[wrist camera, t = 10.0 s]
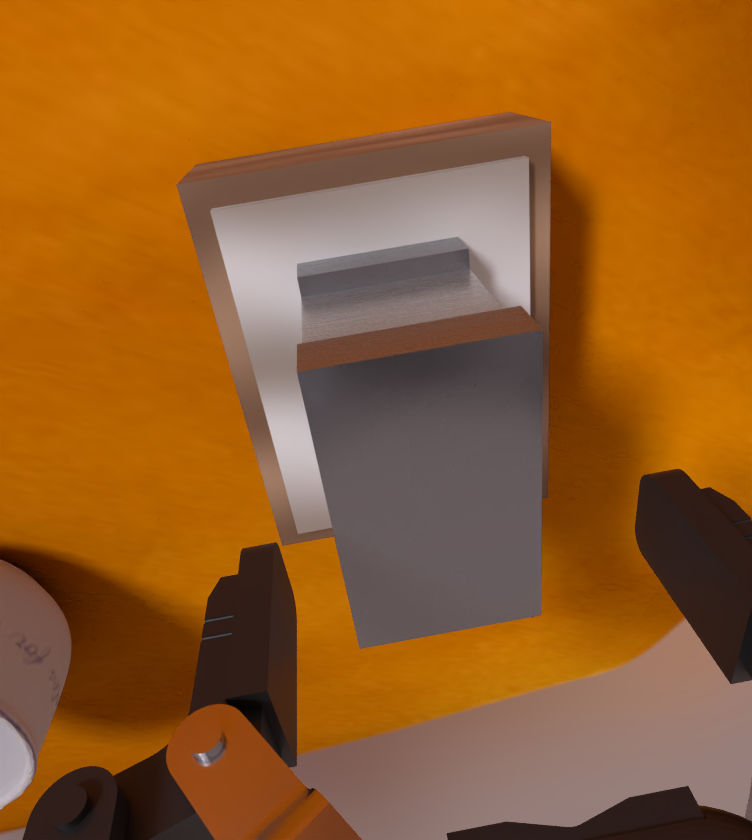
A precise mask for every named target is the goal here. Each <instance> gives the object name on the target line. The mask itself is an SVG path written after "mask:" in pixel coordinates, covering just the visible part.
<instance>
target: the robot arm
mask: <svg viewBox="0 0 752 840" xmlns="http://www.w3.org/2000/svg"><path fill="white" fill-rule="evenodd" d="M635 534H636V540H637V543H638V546H639V549H640V551H641V553H642V555H643V556H644V558H645V559H646V561H647V562H648V564H649V565H650V567H651V568H652V570H653V571H654V573H655V574H656V576H657V577H658V578H659V580H660V581H661V583H662V584H663V586H664V587H665V589H666V590H667V592H668V593H669V595H670V596H671V597H672V599H673V600H674V602H675V603H676V605H677V606H678V608H679V609H680V611H681V612H682V613H683V615H684V616H685V618H686V619H687V621H688V622H689V624H690V625H691V626H692V628H693V630H694V631H695V632H696V634H697V635H698V637H699V638H700V639H701V641H702V643H703V644H704V646H705V647H706V649H707V650H708V651H709V653H710V654H711V656H712V657H713V659H714V660H715V662H716V663H717V665H718V666H719V667H720V669H721V670H722V672H723V673H724V675H725V676H726V678H727V679H728V681H729V682H730V684H734V683H739V682H744V681H750V680H752V521H751V518H750V517H749V516H748V515H747V514H746V513H745V512H744V511H743V510H742V509H741V507H740V506H739V505H738V504H737V503H736V502H735V501H733V500H732V499H730V498H728V497H726V496H724V495H723V494H721V493H719V492H717V491H715V490H714V489H712V488H710V487H709V488H704V489H700V488H699V487H698V486H697V485H696V484H695V483H694V482H693V481H692V480H691V478H690V477H689V476H688V475H687V474H686V473H685V472H684V471H682V470H680V469H674V470H669V471H663V472H658V473H653V474H647V475H644V476H642V478H641V480H640V486H639V495H638V505H637V514H636V523H635ZM294 766H297V617H296V606H295V600H294V595H293V591H292V587H291V584H290V581H289V578H288V575H287V571H286V568H285V565H284V562H283V559H282V555H281V552H280V549H279V546H278V544H277V543H276V542H275V543H270V544H265V545H259V546H254V547H248V548H243V549H242V550H241V555H240V563H239V572H238V574H237V575H232V576H226V577H221V578H220V580H219V581H218V583H217V585H216V586H215V588H214V589H213V591H212V593H211V594H210V596H209V597H208V602H207V608H206V614H205V624H204V627H203V633H202V642H201V645H200V651H199V658H198V664H197V670H196V676H195V683H194V689H193V695H192V701H191V707H190V711H189V714H188V717H187V718H186V719H185V720H184V721H182V723H181V724H180V725H179V726H178V727H177V729H176V730H175V732H174V733H173V735H172V737H171V739H170V741H169V744H168V745H167V746H165V747H164V748H163V749H162V750H160V751H159V752H158V753H156V754H154V755H153V756H151V757H149V758H147V759H145V760H143V761H141V762H139V763H137V764H135V765H134V766H132V767H130V768H128V769H126V770H124V771H122V772H120V773H118V774H116V775H114V776H113V775H112V774H111V773H110V772H109V771H108V770H106V769H104V768H101V767H97V766H89V767H83V768H80V769H77V770H74V771H72V772H70V773H68V774H66V775H65V776H63V777H62V778H60V779H59V780H57V781H56V782H55V783H54V784H53V785H52V786H51V787H50V788H48V789H47V790H46V792H45V793H44V794H43V795H42V796H41V798H40V799H39V801H38V802H37V804H36V805H35V807H34V809H33V811H32V813H31V815H30V817H29V820H28V823H27V826H26V830H25V833H24V837H23V840H362V839H361V838H360V837H359V836H358V835H357V833H356V832H355V831H354V830H353V829H352V828H351V827H350V825H349V824H348V823H347V822H346V821H345V820H344V819H343V818H342V816H341V815H340V814H339V813H338V812H337V811H336V810H335V808H334V807H333V806H332V805H331V804H330V803H329V802H328V801H327V800H326V798H324V797H323V795H321V794H320V793H319V792H318V791H317V790H316V789H313V788H312V789H311V790H310V789H308V788H307V787H306V786H305V785H304V784H303V783H302V782H301V781H300V780H299V779H298V778H297V776H296V775H295V774H294V773H293V772H292V771H291V770H290V768H289V767H294ZM447 838H448V840H752V780H751V788H750V795H749V800H748V804H747V809H746V814H745V818H743V817H741V816H739V815H736V814H733V813H730V812H727V811H724V810H720V809H716V808H711V807H707V806H699V805H698V804H697V802H696V800H695V798H694V796H693V794H692V792H691V791H690V789H689V787H688V786H686V787H680V788H675V789H670V790H665V791H660V792H655V793H650V794H645V795H640V796H635V797H629V798H628V799H626V800H624V801H622V802H620V803H618V804H617V805H615V806H613V807H611V808H609V809H608V810H606V811H604V812H602V813H601V814H598V815H597V816H595V817H593V818H591V819H589V820H588V821H586V822H584V823H582V824H581V825H578V826H575V827H560V826H548V825H538V824H527V823H516V822H503V823H498V824H492V825H487V826H482V827H477V828H472V829H467V830H461V831H456V832H451V833H447Z"/></svg>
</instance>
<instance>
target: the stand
mask: <svg viewBox="0 0 752 840" xmlns="http://www.w3.org/2000/svg"><path fill="white" fill-rule="evenodd" d="M177 188H178V191H179V195H180V198H181V202H182V205H183V208H184V212H185V215H186V219H187V222H188V226H189V229H190V232H191V236H192V239H193V243H194V246H195V249H196V253H197V256H198V260H199V263H200V266H201V270H202V273H203V277H204V280H205V283H206V287H207V290H208V294H209V297H210V300H211V304H212V307H213V311H214V314H215V318H216V321H217V324H218V328H219V331H220V335H221V338H222V341H223V345H224V348H225V352H226V355H227V358H228V362H229V365H230V369H231V372H232V375H233V379H234V382H235V386H236V389H237V392H238V396H239V399H240V403H241V406H242V409H243V413H244V416H245V420H246V423H247V427H248V430H249V433H250V437H251V440H252V444H253V447H254V450H255V454H256V457H257V461H258V464H259V467H260V471H261V474H262V478H263V481H264V484H265V488H266V491H267V495H268V498H269V501H270V505H271V508H272V512H273V515H274V519H275V522H276V525H277V529H278V532H279V536H280V539H281V542H282V546H284V545H290V544H295V543H301V542H306V541H312V540H317V539H323V538H328V537H333V536H334V533H333V529H332V524H331V520H330V516H329V511H328V507H327V502H326V498H325V494H324V489H323V485H322V480H321V476H320V472H319V467H318V463H317V458H316V454H315V450H314V445H313V441H312V436H311V432H310V428H309V423H308V419H307V415H306V410H305V406H304V401H303V397H302V393H301V388H300V384H299V379H298V375H297V344H301V343H302V315H301V294H300V289H299V284H298V280H297V264H298V263H304V262H310V261H316V260H322V259H328V258H334V257H340V256H346V255H352V254H358V253H364V252H370V251H376V250H381V249H387V248H393V247H399V246H405V245H411V244H417V243H423V242H429V241H435V240H441V239H447V238H453V237H458V238H459V239H460V240H461V241H462V242H463V243H464V244H465V245H466V246H467V247H468V248H469V263H470V270H471V271H472V272H473V273H474V275H475V276H476V277H477V278H478V279H479V281H480V282H481V283H482V284H483V285H484V287H485V288H486V289H487V290H488V291H489V293H490V294H491V295H492V296H493V297H494V299H495V300H496V301H497V302H498V303H499V305H500V306H501V307H502V308H503V309H505V308H511V307H516V306H522V307H523V308H524V309H525V311H526V312H527V313H528V314H529V315H530V316H531V317H532V318H533V319H534V320H535V321H536V323H537V324H538V325H539V326H540V327H541V328H542V329H543V405H542V498H547V497H548V432H549V312H550V192H551V122H549V121H545V120H541V119H536V118H532V117H528V116H524V115H519V114H515V113H511V112H509V113H503V114H497V115H491V116H485V117H479V118H473V119H467V120H461V121H455V122H449V123H443V124H437V125H431V126H425V127H419V128H413V129H407V130H401V131H395V132H389V133H383V134H377V135H371V136H365V137H359V138H353V139H347V140H341V141H335V142H329V143H323V144H317V145H311V146H305V147H299V148H293V149H287V150H281V151H275V152H269V153H263V154H257V155H251V156H245V157H239V158H233V159H227V160H221V161H215V162H209V163H203V164H197V165H196V166H195V167H194V168H193V169H192V170H191V171H190V172H189V173H188V174H187V175H186V176H185V177H184V178H183V179H182V180H181V181H180V182H179V183H178V184H177Z"/></svg>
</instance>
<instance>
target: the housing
mask: <svg viewBox="0 0 752 840" xmlns="http://www.w3.org/2000/svg"><path fill="white" fill-rule="evenodd" d="M297 280H298V284H299V289H300V294H301V315H302V343H301V344H297V375H298V379H299V384H300V388H301V393H302V397H303V401H304V406H305V410H306V415H307V419H308V423H309V428H310V432H311V436H312V441H313V445H314V450H315V454H316V458H317V463H318V467H319V472H320V476H321V480H322V485H323V489H324V494H325V498H326V502H327V507H328V511H329V516H330V520H331V524H332V529H333V533H334V538H335V542H336V546H337V551H338V555H339V559H340V564H341V568H342V573H343V577H344V581H345V586H346V590H347V595H348V599H349V603H350V608H351V612H352V617H353V621H354V625H355V630H356V634H357V639H358V643H359V647H360V649H361V648H366V647H372V646H377V645H383V644H388V643H393V642H399V641H404V640H410V639H415V638H420V637H426V636H431V635H437V634H442V633H447V632H453V631H458V630H464V629H469V628H474V627H480V626H485V625H491V624H496V623H502V622H507V621H512V620H518V619H523V618H529V617H534V616H539V615H541V573H542V405H543V329H542V328H541V327H540V326H539V325H538V324H537V323H536V321H535V320H534V319H533V318H532V317H531V316H530V315H529V314H528V313H527V312H526V311H525V309H524V308H523V307H522V306H516V307H511V308H505V309H503V308H502V307H501V306H500V305H499V303H498V302H497V301H496V300H495V299H494V297H493V296H492V295H491V294H490V293H489V291H488V290H487V289H486V288H485V287H484V285H483V284H482V283H481V282H480V281H479V279H478V278H477V277H476V276H475V275H474V273H473V272H472V271H471V270H470V263H469V248H468V247H467V246H466V245H465V244H464V243H463V242H462V241H461V240H460V239H459V238H458V237H453V238H447V239H441V240H435V241H429V242H423V243H417V244H411V245H405V246H399V247H393V248H387V249H381V250H376V251H370V252H364V253H358V254H352V255H346V256H340V257H334V258H328V259H322V260H316V261H310V262H304V263H298V264H297Z"/></svg>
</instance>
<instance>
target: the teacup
mask: <svg viewBox="0 0 752 840" xmlns="http://www.w3.org/2000/svg"><path fill="white" fill-rule="evenodd" d="M71 645H72V641H71V634H70V630H69V626H68V623H67V620H66V618H65V616H64V614H63V612H62V610H61V609H60V607H59V606H58V604H57V603H56V601H55V600H54V599H53V598H52V597H51V596H50V595H49V594H48V593H47V592H46V591H45V590H44V589H43V588H42V587H41V586H40V585H39V584H38V583H37V582H36V581H35V580H34V579H33V578H32V577H30V576H29V575H28V574H27V573H25V572H24V571H22V570H20V569H19V568H17V567H15V566H14V565H12V564H10V563H7V562H5V561H3V560H1V559H0V809H3V807H4V806H5V805H7V804H9V803H10V802H12V801H14V800H15V799H16V798H18V797H19V796H20V795H21V794H22V793H23V792H24V791H25V790H26V789H27V788H28V786H29V785H30V784H31V782H32V780H33V778H34V775H35V773H36V768H37V757H38V755H39V752H40V750H41V747H42V745H43V742H44V740H45V737H46V734H47V732H48V729H49V727H50V724H51V721H52V719H53V716H54V713H55V711H56V708H57V705H58V702H59V699H60V696H61V693H62V690H63V687H64V684H65V680H66V677H67V673H68V669H69V665H70V660H71Z"/></svg>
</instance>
